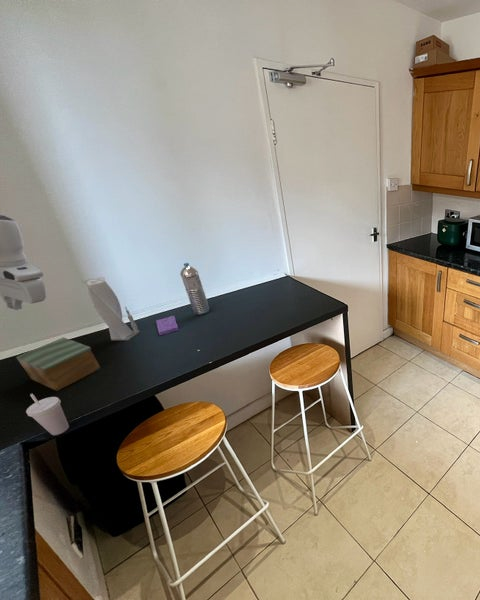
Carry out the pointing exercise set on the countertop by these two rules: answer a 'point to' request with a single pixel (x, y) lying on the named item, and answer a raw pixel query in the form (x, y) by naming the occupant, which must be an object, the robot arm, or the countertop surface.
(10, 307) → the robot arm
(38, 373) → the wooden box
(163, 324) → the sponge
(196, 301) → the water bottle
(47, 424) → the smoothie
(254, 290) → the countertop surface
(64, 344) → the lid
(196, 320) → the countertop surface
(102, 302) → the skyscraper
